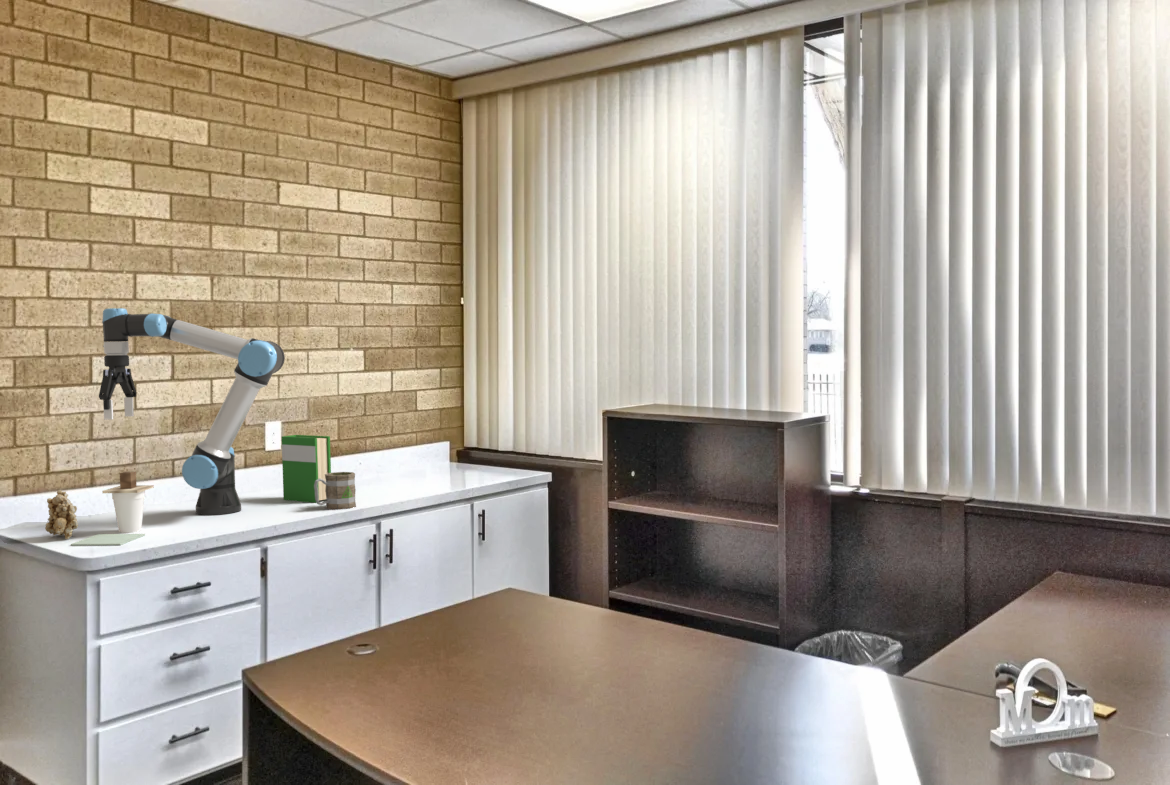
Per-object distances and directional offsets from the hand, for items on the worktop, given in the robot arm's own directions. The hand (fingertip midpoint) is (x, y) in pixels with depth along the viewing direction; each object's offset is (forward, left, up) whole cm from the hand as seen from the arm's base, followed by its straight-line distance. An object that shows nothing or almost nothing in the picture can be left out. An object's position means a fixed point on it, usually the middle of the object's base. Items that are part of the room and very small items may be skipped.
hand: (119, 418), depth 331 cm
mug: (-66, -21, -35) cm, 78 cm away
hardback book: (-50, -40, -35) cm, 73 cm away
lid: (-12, +19, -22) cm, 31 cm away
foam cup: (-12, +19, -35) cm, 42 cm away
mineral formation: (+4, +29, -35) cm, 46 cm away
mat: (-13, +34, -35) cm, 50 cm away
